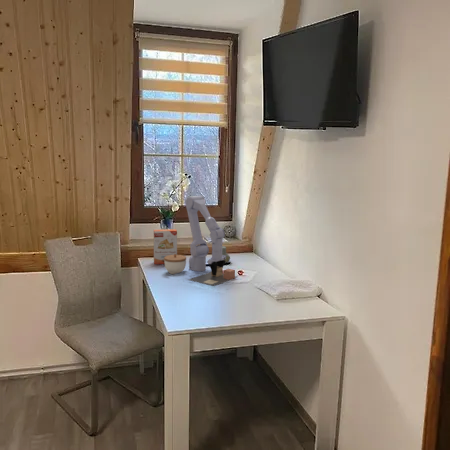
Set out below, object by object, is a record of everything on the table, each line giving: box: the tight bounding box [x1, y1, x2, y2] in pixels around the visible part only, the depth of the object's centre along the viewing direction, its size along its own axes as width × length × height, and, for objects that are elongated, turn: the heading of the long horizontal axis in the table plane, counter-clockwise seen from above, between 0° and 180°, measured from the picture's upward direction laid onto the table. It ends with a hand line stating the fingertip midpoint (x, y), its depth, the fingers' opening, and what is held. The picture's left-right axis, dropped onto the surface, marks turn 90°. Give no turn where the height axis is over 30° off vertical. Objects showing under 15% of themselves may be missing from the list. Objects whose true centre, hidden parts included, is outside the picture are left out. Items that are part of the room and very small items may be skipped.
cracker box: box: [153, 228, 178, 265], centre depth 296 cm, size 14×6×21 cm, turn 102°
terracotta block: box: [223, 268, 236, 281], centre depth 264 cm, size 4×4×4 cm
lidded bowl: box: [164, 254, 187, 275], centre depth 276 cm, size 13×13×11 cm
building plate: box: [188, 271, 238, 287], centre depth 264 cm, size 18×22×1 cm
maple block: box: [210, 266, 224, 277], centre depth 269 cm, size 4×4×4 cm
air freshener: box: [222, 245, 231, 264], centre depth 300 cm, size 11×8×10 cm
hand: (216, 273), depth 269 cm, fingers closed on maple block, 4 cm apart
